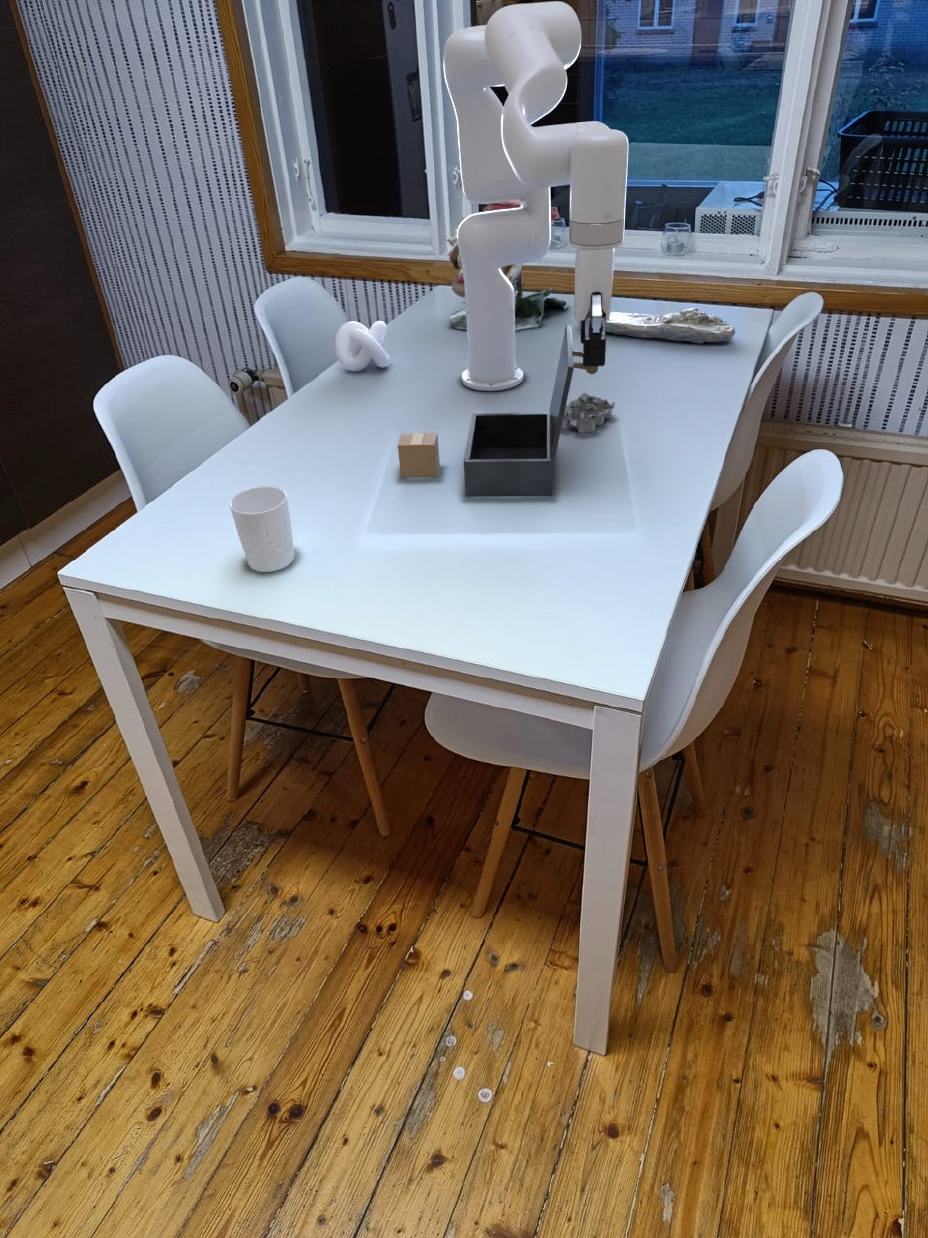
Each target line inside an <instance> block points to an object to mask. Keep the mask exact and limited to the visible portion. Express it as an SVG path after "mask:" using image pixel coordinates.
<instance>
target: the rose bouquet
mask: <svg viewBox="0 0 928 1238" xmlns="http://www.w3.org/2000/svg"><path fill="white" fill-rule="evenodd" d="M485 205H486V206H485V207H484V208H483V209H482V211H480V212H476V213H471V214H469V215H466V216H464V217H463V218H461V220H459V221H458V222H457V226H458V227H459V225H460V224H461V222H462V221H463V220H464V219H466V218H467V217H469V216H471V215H474V214H477V213H482V212H489V211H496V210H506V209H514V208H521V204H520V200H514V201H506V202H499V203H490V204H485ZM558 218H560V214H559V211H558V208H557V206H550V219H551V224H552V223H553V222H554V221H555V220H557V219H558ZM457 231H458V228H455V229H454V233H455V234H454V236H453V237H451V238H448V239H447V238H446V242H448V244H449V246H451V247H452V248H451V249H450V251H449V252H448V253H447V254H448V257H449V258H448V260H449V262H451V264H452V265H453V268H454V269H455V270H456V271H459V273H457V274H456V273H455V274H452V277H454V276H456V277H455V278H454V279H453V281H452V284H451V290H452V292H453V293H454V294H455V295H456V296H458V297H461V298H465V286H464V276H463V269H462V263H461V258H460V253H459V248H458V242H457ZM550 245H555V246H556V245H557V246H558V245H560V241H558V240H555V239H550ZM522 266H523V263H519V264H513V265H508V266H503V267H502V268H501V271H502V273H503V274H504V275H505V276H506V278H507V279H508V280H509V281H510V282H511V284H512V286H513V289H514V301H515V331H518V330H523V329H533V328H539V327H541V321H542V318H544V317H546V316H547V315H546V313H545V312H544V310H545V306H546V307H547V306H558V307H563V309H564V310H565V309H567V308H569V307H568V306H567V305H568V304H567V301H565V300H561V299H558V298H556V297H554V296H553V297H549V296H550V295H551V292H552V290H554V287H549V288H547V289H546V290H542V291H539V292H534V293H532V294H528V295H524V293H523V291H524V285H523V283H524V282H523V281H524V278H523V271H522ZM516 288H517V290H516ZM448 318H449V320H450V323H451V325H452V327H453V328H454V329H459V330H467V321H466V309H463V310H459V311H458V312H456V313H454V314H453V315H450V316H448Z"/></svg>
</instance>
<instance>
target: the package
mask: <svg viewBox="0 0 928 1238" xmlns="http://www.w3.org/2000/svg"><path fill="white" fill-rule="evenodd" d="M397 452H398V460H399V461H398V463H399V470H400V471H399V472H400V478H438V474H439V470H440V464H441V463H440V452H439V437H438V433H437V432H412V433H401V434H400V437H399V441H398V444H397Z"/></svg>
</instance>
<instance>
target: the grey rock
mask: <svg viewBox="0 0 928 1238" xmlns="http://www.w3.org/2000/svg"><path fill="white" fill-rule="evenodd" d="M615 405H616V403H615V402H612V403H610V402H609V401H608V399H606V398H605V399H602V398H601V397H597V396H596V395H593V396H591V395H590V394H588V393H586V392H582V393H581V394H580V395H579V396H578V397H577V398H576V399H574V400H571V401H570V402H569V403H568V404H566V408H565V413H564V418H563V422H562V427H561V430H562V429H563V430H569V429H576V430H578V433H581V434H585V433H593V432H594V431H596V426H602V425H603V424H604V422H605V419H610V418H612V413H613V410H615ZM575 419H578V420H575Z"/></svg>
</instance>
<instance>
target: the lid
mask: <svg viewBox="0 0 928 1238" xmlns="http://www.w3.org/2000/svg"><path fill="white" fill-rule="evenodd" d="M564 328H565V329H564V332H563V338H562V344H561V349H560V354H559V357H558V358H559V359H558V364H557V369H556V373H555V379H554V383H553V389H552V394H551V395H552V396H551V399H550V404H549V412H550V458H552V459H556V455H557V450H558V447H559V442H560V436H561V433H562V432H561V431H562V422H563V418H564V413H565V408H566V405H567V403H568V397H569V393H570V389H571V383H572V379H573V374H574V369H580V370H585V371H586V373H587V374H588V375H595V374H596V373H597V372H598V371H599V366H589V367H585V366H583V362H580V361H579V362H578V361H574V357H580V358H583V350H578V349H577V350H576V349H573V337H572V336H573V335H572V326H571V324H565V327H564Z"/></svg>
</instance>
